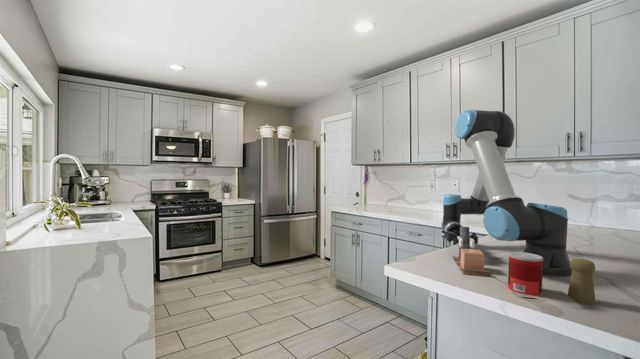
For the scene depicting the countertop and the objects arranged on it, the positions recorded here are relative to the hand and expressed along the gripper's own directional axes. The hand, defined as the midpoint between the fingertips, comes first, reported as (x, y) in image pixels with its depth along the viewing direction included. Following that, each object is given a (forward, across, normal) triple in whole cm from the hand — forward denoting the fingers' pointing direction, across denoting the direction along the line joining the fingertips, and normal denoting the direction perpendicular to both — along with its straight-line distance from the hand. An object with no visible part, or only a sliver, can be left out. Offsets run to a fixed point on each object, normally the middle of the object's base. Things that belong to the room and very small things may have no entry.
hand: (467, 243), depth 112 cm
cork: (+24, -23, -8) cm, 35 cm away
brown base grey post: (+4, 0, -8) cm, 9 cm away
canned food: (+24, -10, -8) cm, 27 cm away
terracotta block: (+8, 0, -7) cm, 10 cm away
